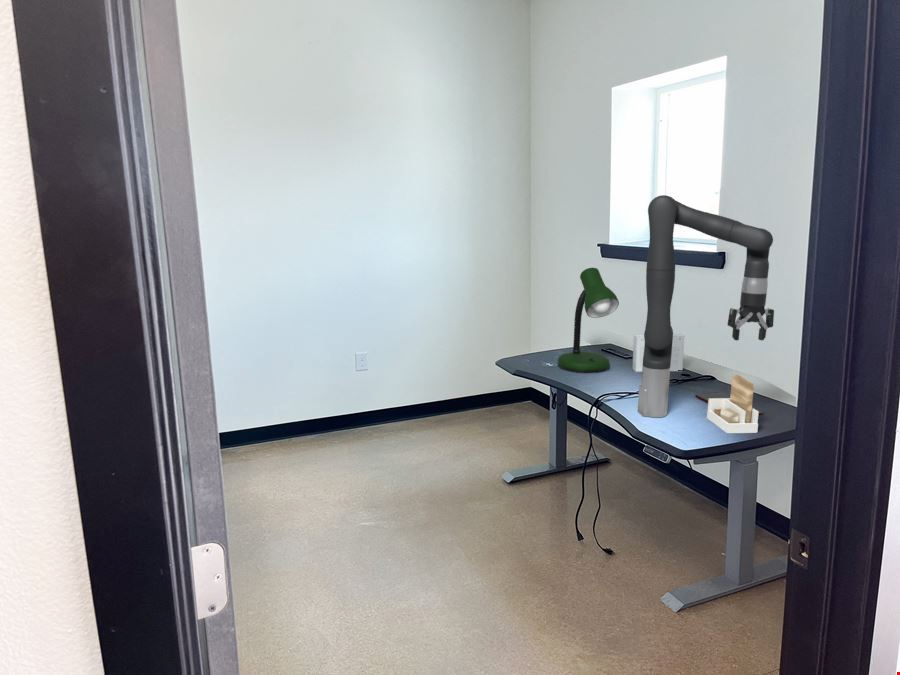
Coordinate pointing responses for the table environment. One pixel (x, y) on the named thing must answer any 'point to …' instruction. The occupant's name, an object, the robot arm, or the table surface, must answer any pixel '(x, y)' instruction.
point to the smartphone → (707, 396)
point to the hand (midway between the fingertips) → (748, 339)
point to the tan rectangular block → (742, 395)
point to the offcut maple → (729, 415)
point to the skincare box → (675, 357)
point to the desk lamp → (596, 305)
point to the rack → (732, 427)
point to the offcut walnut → (717, 412)
